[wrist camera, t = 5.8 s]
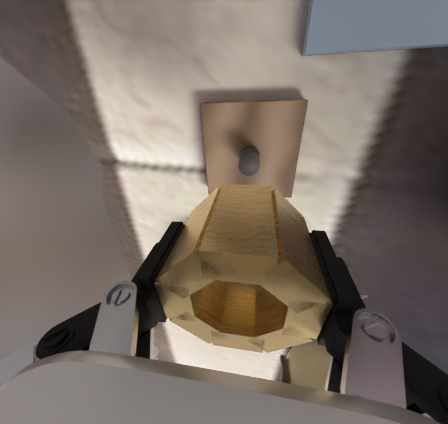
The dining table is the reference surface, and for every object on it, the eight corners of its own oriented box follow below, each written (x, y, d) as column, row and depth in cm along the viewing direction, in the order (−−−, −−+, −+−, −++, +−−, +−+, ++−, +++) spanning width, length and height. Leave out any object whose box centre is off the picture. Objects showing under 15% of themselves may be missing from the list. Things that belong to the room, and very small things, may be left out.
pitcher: (377, 357, 51) (456, 540, 31) (288, 359, 60) (303, 503, 39) (367, 309, 42) (472, 529, 21) (262, 319, 50) (264, 483, 30)
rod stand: (304, 99, 22) (317, 103, 18) (289, 191, 29) (295, 213, 24) (204, 102, 24) (190, 107, 19) (211, 188, 31) (202, 208, 26)
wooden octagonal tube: (312, 187, 10) (352, 263, 6) (292, 274, 13) (306, 359, 9) (186, 183, 11) (140, 245, 7) (199, 265, 14) (174, 338, 10)
